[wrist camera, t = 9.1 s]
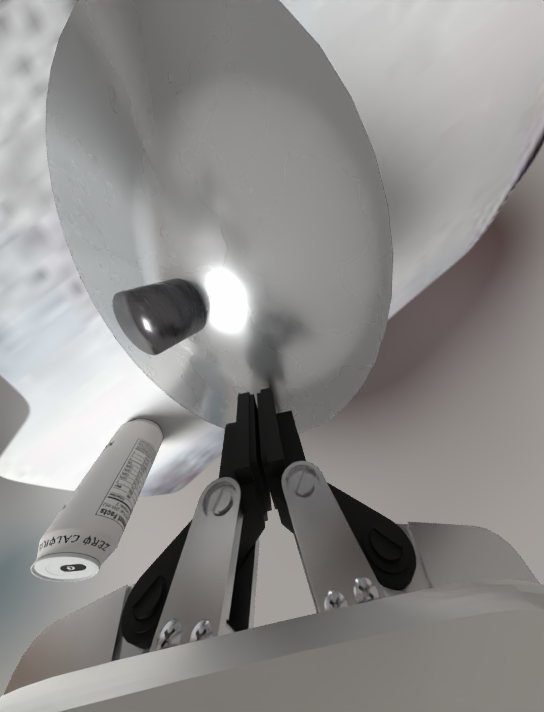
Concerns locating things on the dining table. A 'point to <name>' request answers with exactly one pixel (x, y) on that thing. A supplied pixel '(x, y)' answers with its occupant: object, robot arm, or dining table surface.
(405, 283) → the dining table surface
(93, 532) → the energy drink can
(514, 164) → the dining table surface
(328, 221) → the lid
